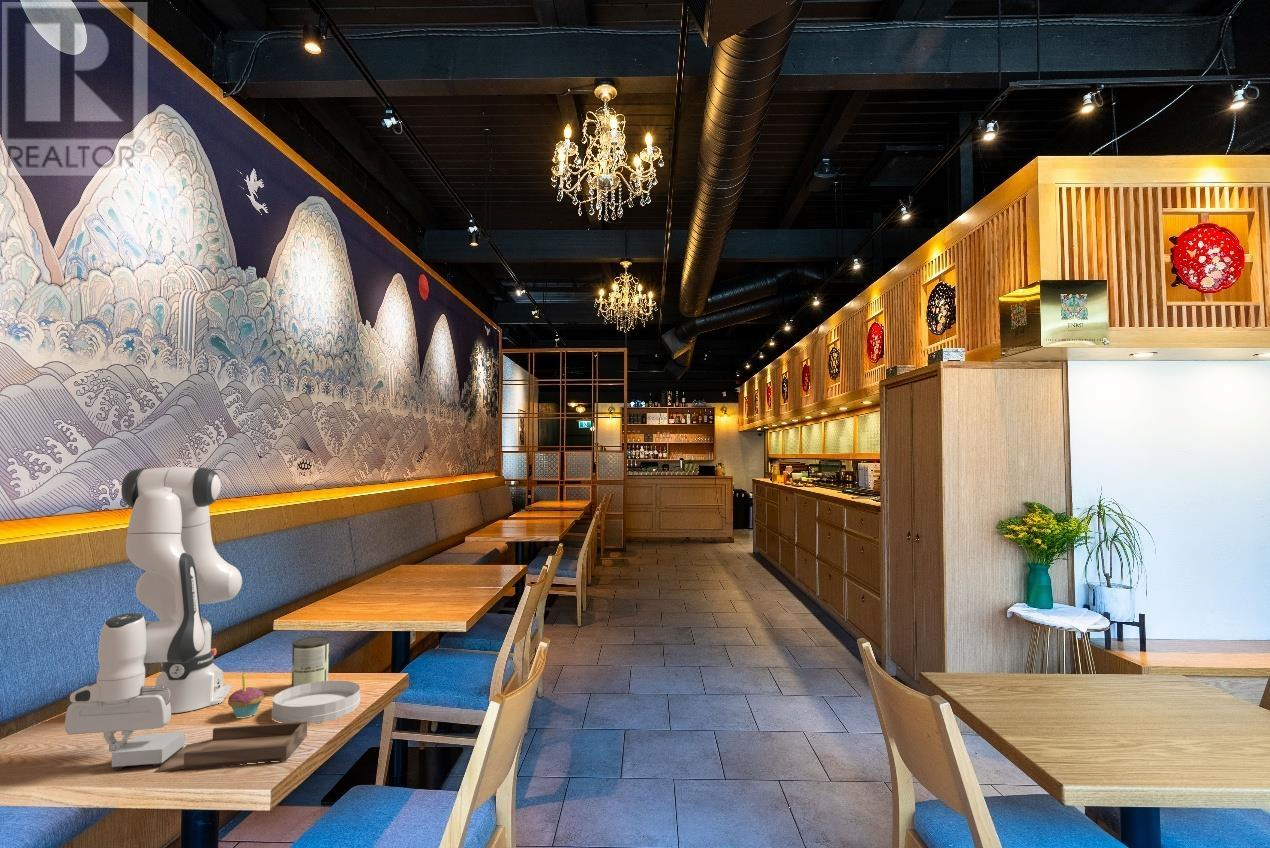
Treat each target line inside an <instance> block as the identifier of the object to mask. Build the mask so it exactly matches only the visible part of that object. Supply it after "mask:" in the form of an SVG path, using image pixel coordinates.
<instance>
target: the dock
mask: <svg viewBox="0 0 1270 848" xmlns="http://www.w3.org/2000/svg"><path fill="white" fill-rule="evenodd" d="M305 737H306V738H307V737H308V725H307V721H306V722H292V723H267V724H251V725H239V726H238V725H237V726H222V727H215V728H213V729H212V739H211V738H210V739H206V740H201V741H198V742H193V743H189V744H186V745H184V746H183V748H182V749H181V750H180V751H179V752H177V753H176V754H175V755H174V756H173V757H171V759H169V760H168V761H166V762H165V763H164V764H163V765H161V766H160V767H157V769H156V770H155V771H153V773H164V772H165V773H166V772H174V771H177V770H182V769H183V771H188V770H190V771H191V770H199V769H200V770H201V769H211V768H224V767H223V766H228V767H231V766H230V765H240V764H247V763H258V762H271V761H286V760H287V759H288V758H291V756H292V755H293V754H294V753H295V752H296V750H297V749H298V748H299V746H300V745H301V743H303V742H304V740H305V739H306V738H305ZM288 760H289V759H288ZM288 760H287V761H288ZM287 761H286V762H287ZM240 766H241V765H240Z"/></svg>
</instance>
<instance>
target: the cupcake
mask: <svg viewBox="0 0 1270 848" xmlns="http://www.w3.org/2000/svg"><path fill="white" fill-rule="evenodd" d="M241 679H242V681H241V682H242V688H240V689H238V690H235V691H234V692H233V693H231V694H229V696H228V701H227V705H228V706H229V707H231V709H232V711H233V713H234V717H235V718H236V717H246V716H250V715H253V714H255V713H256V714H257V711H258V708H259V706H260V704H261V702H262V701H264V699H265V694H264V692H263V690H261V689H259V688H257V687H247V686H246V675H245V673H244V672H243V671H242V677H241ZM256 714H255V715H256Z"/></svg>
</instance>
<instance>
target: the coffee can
mask: <svg viewBox="0 0 1270 848" xmlns="http://www.w3.org/2000/svg"><path fill="white" fill-rule="evenodd" d="M291 645H292V654H291V655H292V658H291V659H292V662H291V664H292V665H291V687H295V686H298V685H302V684H307V683H313V682H320V681H329V657H330V656H329V654H330V650H329V649H330V637H328V636H323V635H321V636H320V635H319V636H317V635H315V636H314V635H313V636H307V637H301V638H297V639H295V640H293V641H292V644H291Z"/></svg>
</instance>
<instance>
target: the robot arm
mask: <svg viewBox="0 0 1270 848" xmlns="http://www.w3.org/2000/svg"><path fill="white" fill-rule="evenodd" d="M121 482H122V483H121V489H120V490H121V491H120V492H121V497H122V500H123V501H124V503H125V504H126V505H127V506H128V507H130V508H132V509H131V513H130V517H129V522H128V525H127V531H126V532H127V534H126V540H125V541H126V542H125V550H126V551H125V553H126V557H128V560H129V561H130V562H131V563H132V564H133V565H134V566H135V567H138V568H139V569H141V570H144V571H145V572H144V573H143V574H141V576H140V577H139V578H138V580H137V582H136V584H135V596H136V598H137V600H138V601H139V602H140V603H141V604H142V605H143V606H145V607H148V608H149V610H151V611H152V612H153V613H154V615H156V617H157V618H158V619H159V621H148V620H145V617H144V615H143V614H141V613H137V612H130V613H129V612H127V613H122V614H119V615H115V616H112V617H110V618H108V619H107V620H106V621H105V622H104V623H103V625H102V628H101V630H100V636H99V640H98V641H99V642H98V649H97V662H98V664H99V670H98V673H97V674H96V682H93V683H90V684H88V685H86V686H83V687H80V688H79V689H78V690H75V691H73V692H72V693H70V695H69V700H70V702H71V703H70V705H68V707H67V709H66V713H65V719H64V720H65V721H64V731H65V733H67V734H68V735H71V736H72V735H84V734H85V735H86V734H87V735H88V734H97V733H98V734H99V733H103V738H104V740H105V741H106V743H107V744H108V752H109V753H110V752H112V753H113V752H114V751H116V750H117V749H119V748H120V747H121V746H123V745H124V744H126V743H127V742H128V741H129V739H130V737H132V735H133V734H134V731H142V730H145V731H146V730H159V729H161V728H164V727H165V726H166V725H168V724H169V722H170V721H171V720H172V714H179V713H185V712H190V711H195V710H199V709H203V708H206V707H209V706H215V705H218V703H219V704H222V703H223V702H224V701H225V699H226V698H225V697H228V695H229V693H230V692H231V690H232V689H233V687H232V686H233V685H232V684H227V683H226V684H225V683H224V671H223V670H222V669H221V668H219V667H218V666H217V665H216V664H215V663H214V662H215V661H214V657H215V656H216V655H217V648H212V647H211V645H212V625H211V623H210V622H209V621H208V620H207V619H206V618H204V617H202V614H201V613H202V611H201V605H207V604H208V605H209V604H217V603H222V602H226V601H230V600H233V599H234V598H235V597H236V596H238V594H239V593H240V590H241V589H242V586H243V577H242V574H241V572H240V570H239V569H238V568H237V567H235V566H234V565H232V564H230V563H229V562H227V561H226V560H225V559H223V558H222V557H221V555H220V554H219V552H218V551H217V549H216V548H215V545H214V542H213V537H212V529H211V515H210V513H211V512H210V506H211V505H213V504H214V503H215V502H216V501H217V500H218V499H219V496H220V492H221V489H222V482H221V478H220V476H219V474H218V472H217V471H215V470H214V469H212V468H209V467H192V466H191V467H190V466H189V467H188V466H169V467H153V468H148V467H141V468H137V469H132V470H130V471H129V472H128V473H127V474H126V475H125V476H124V477H123V479H122V481H121ZM152 663H153V664H154V663H155V664H156V663H161V664H160V665H161V667H160V669H161V671H162V672H161V673H160V674H159V675H158V676H157V677H156V678H155V685H150V686H149V685H147V686H146V685H145V683H146V667H145V664H152ZM231 688H232V689H231ZM230 689H231V690H230ZM229 691H230V692H229ZM227 694H228V695H227ZM224 698H225V699H224ZM223 700H224V701H223ZM222 701H223V702H222ZM221 702H222V703H221ZM117 732H121V736H123V738H121V740H117V738H116V737H115V734H116V733H117Z"/></svg>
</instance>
